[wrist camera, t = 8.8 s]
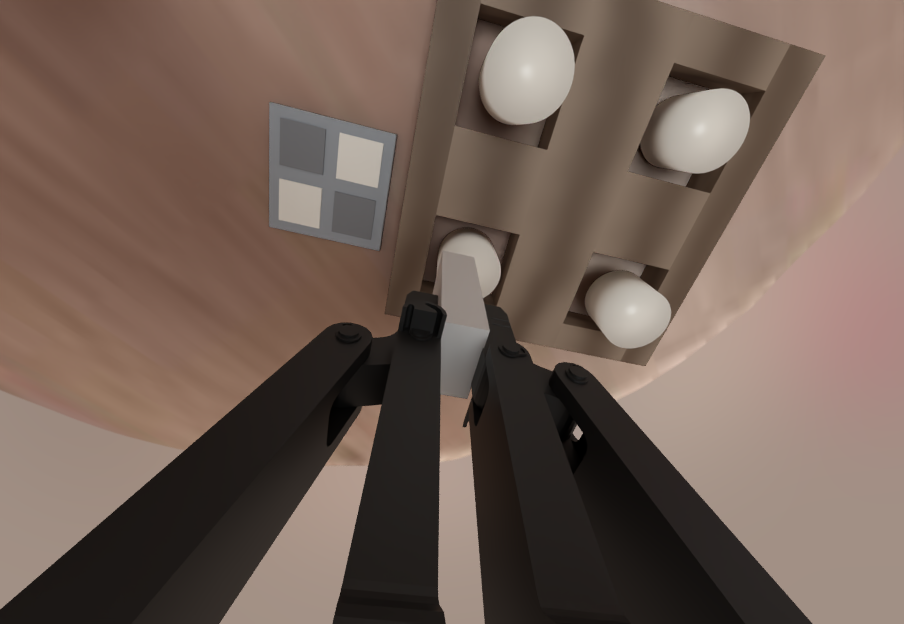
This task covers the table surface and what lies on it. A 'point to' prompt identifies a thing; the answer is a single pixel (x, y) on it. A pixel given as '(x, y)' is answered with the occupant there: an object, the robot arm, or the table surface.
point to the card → (328, 176)
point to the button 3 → (627, 309)
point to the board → (588, 159)
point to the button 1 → (475, 255)
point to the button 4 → (696, 130)
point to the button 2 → (527, 71)
